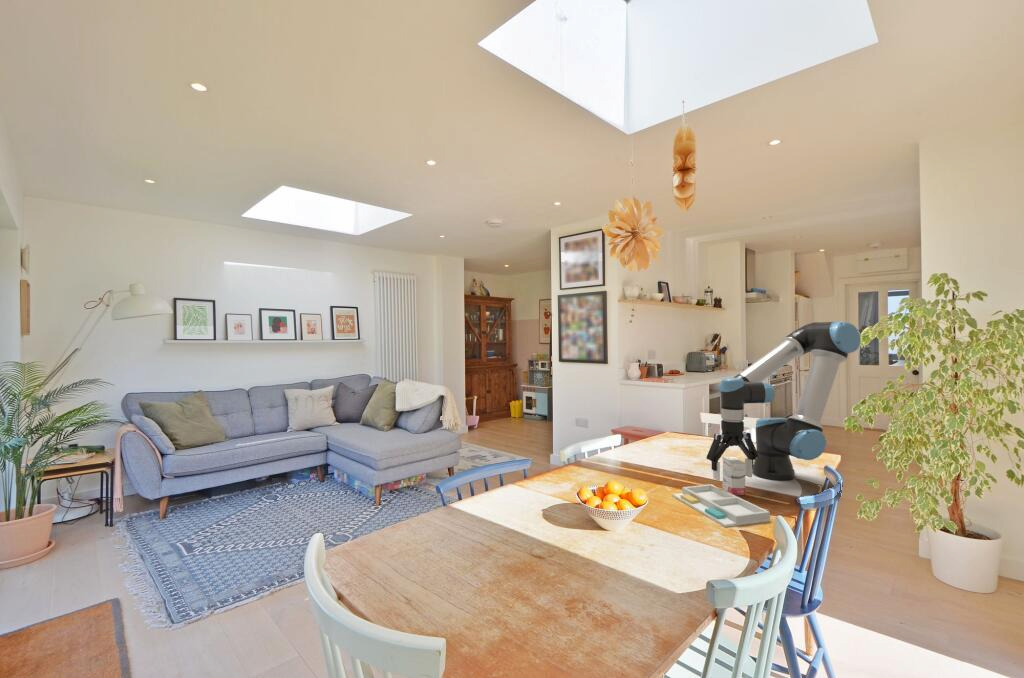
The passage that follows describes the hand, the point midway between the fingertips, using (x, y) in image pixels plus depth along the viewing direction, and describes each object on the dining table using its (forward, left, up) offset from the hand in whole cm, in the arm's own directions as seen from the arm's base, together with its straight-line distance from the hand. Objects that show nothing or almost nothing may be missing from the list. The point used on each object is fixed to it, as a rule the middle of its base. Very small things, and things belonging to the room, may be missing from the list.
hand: (732, 478), depth 170 cm
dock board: (+16, +12, -5) cm, 20 cm away
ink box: (0, 0, -5) cm, 5 cm away
